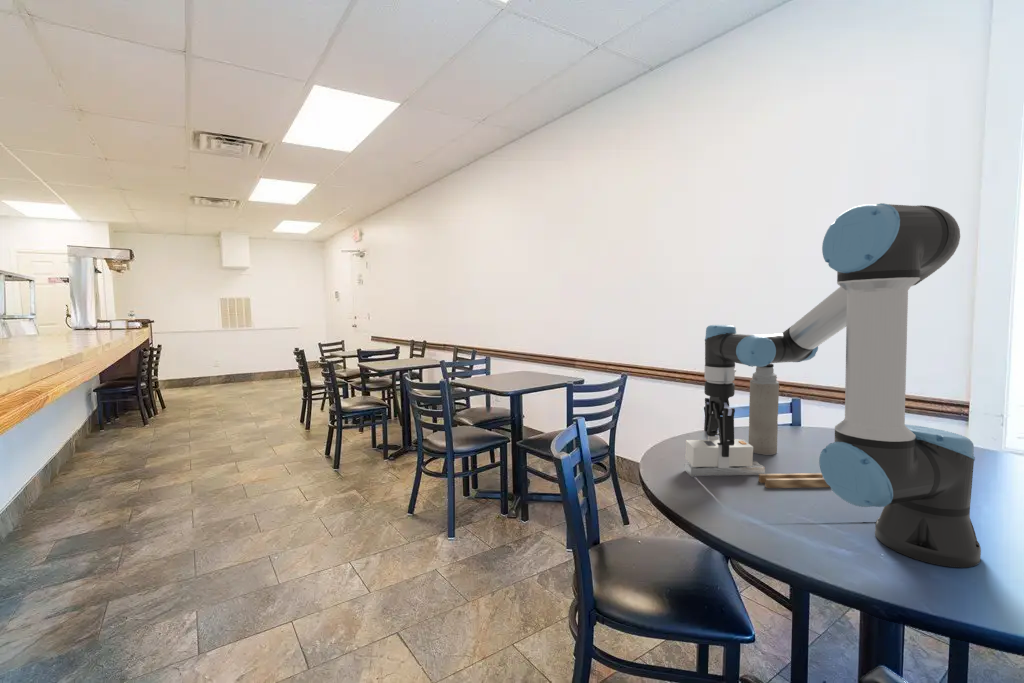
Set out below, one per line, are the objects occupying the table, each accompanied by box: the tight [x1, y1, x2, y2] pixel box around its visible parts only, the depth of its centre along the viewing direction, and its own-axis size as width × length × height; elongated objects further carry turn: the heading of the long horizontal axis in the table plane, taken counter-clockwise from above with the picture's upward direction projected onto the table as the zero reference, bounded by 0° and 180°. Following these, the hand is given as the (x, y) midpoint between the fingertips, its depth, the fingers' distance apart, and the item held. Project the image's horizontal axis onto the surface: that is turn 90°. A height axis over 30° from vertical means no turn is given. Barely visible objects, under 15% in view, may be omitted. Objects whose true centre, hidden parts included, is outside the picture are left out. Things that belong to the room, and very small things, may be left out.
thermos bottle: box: [748, 363, 780, 456], centre depth 143 cm, size 8×8×28 cm
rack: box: [758, 472, 831, 489], centre depth 117 cm, size 16×4×2 cm, turn 89°
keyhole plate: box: [684, 460, 766, 478], centre depth 127 cm, size 5×20×2 cm, turn 89°
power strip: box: [684, 438, 754, 468], centre depth 126 cm, size 16×6×8 cm, turn 89°
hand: (717, 462), depth 126 cm, fingers closed on power strip, 6 cm apart
